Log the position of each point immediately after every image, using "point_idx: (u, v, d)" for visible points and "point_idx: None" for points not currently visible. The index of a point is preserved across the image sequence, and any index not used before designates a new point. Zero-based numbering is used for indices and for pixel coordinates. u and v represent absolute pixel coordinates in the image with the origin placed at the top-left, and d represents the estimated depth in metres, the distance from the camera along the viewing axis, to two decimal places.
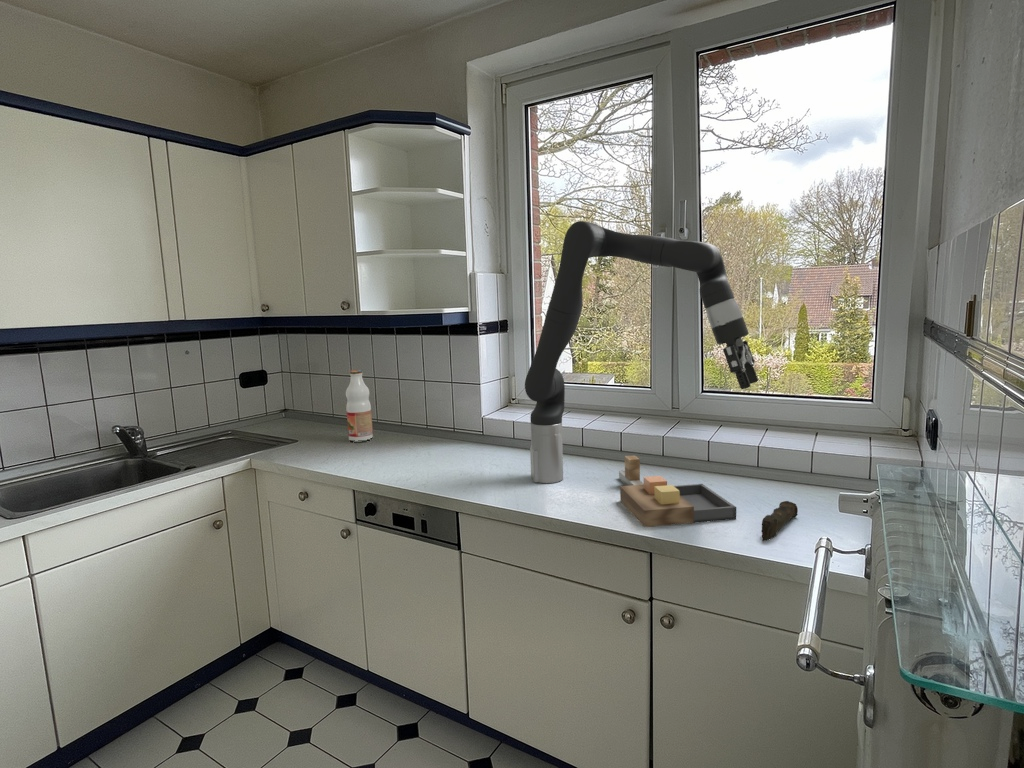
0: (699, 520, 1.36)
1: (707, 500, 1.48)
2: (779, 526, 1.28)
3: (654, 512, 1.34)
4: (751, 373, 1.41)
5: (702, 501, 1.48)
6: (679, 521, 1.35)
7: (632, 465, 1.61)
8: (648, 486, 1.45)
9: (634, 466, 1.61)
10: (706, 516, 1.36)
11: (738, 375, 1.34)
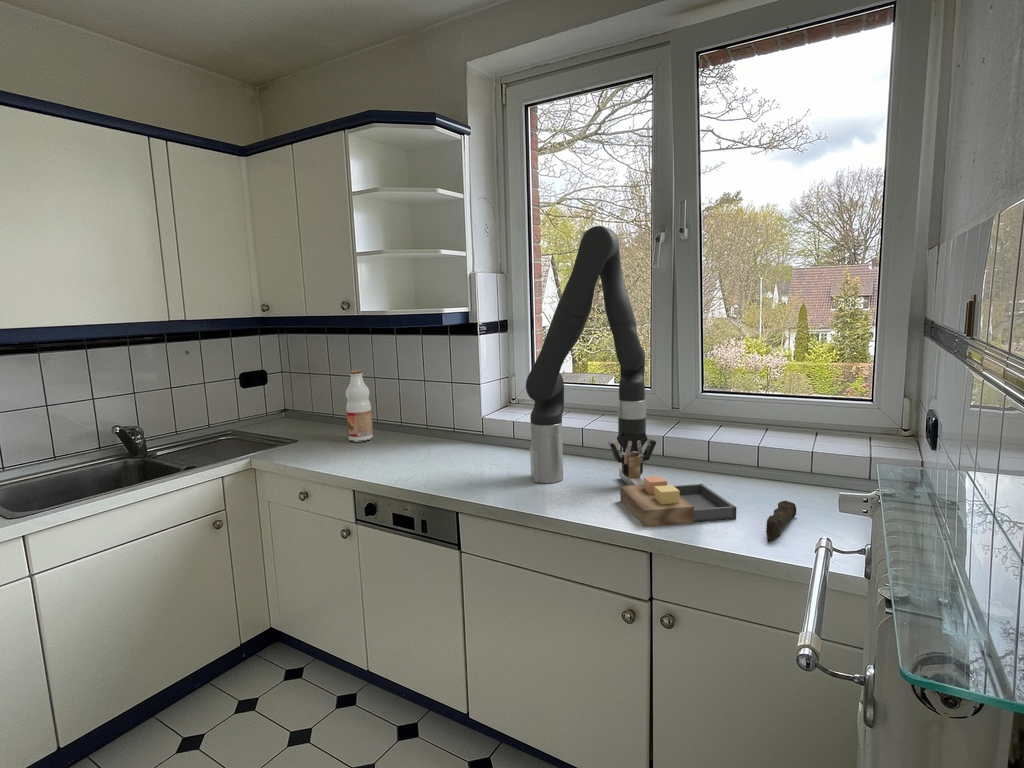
0: (699, 520, 1.36)
1: (707, 500, 1.48)
2: (782, 526, 1.28)
3: (654, 512, 1.34)
4: None
5: (702, 501, 1.48)
6: (679, 521, 1.35)
7: (633, 463, 1.60)
8: (648, 486, 1.45)
9: (635, 464, 1.60)
10: (706, 516, 1.36)
11: (622, 464, 1.63)
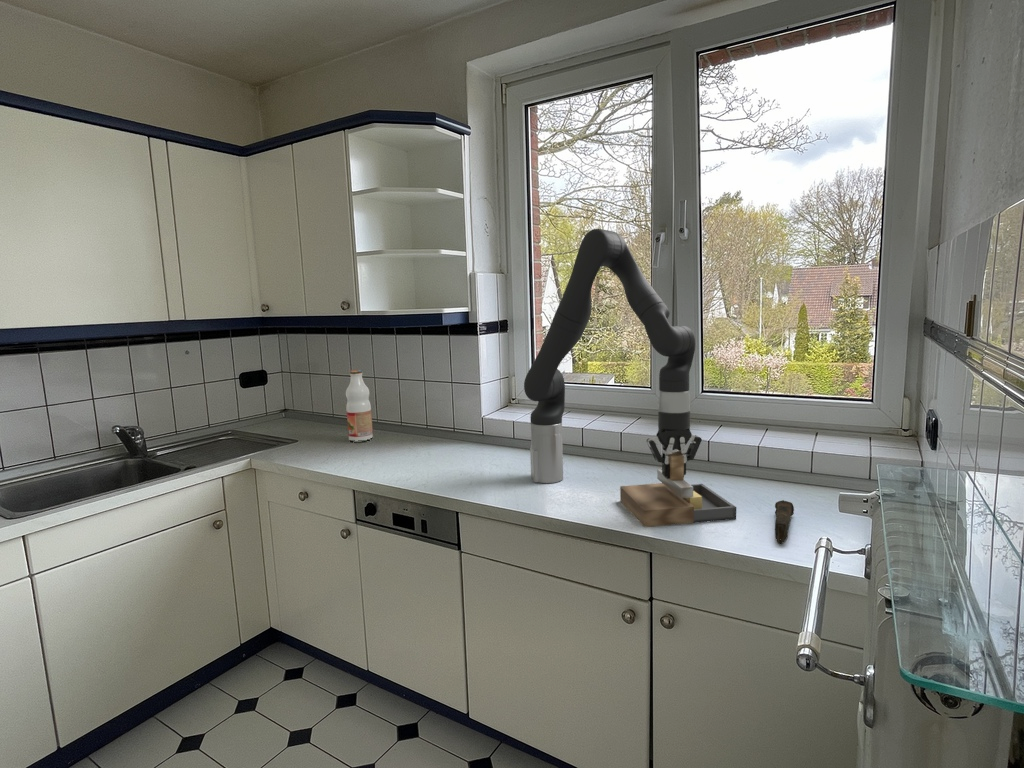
0: (699, 520, 1.36)
1: (707, 500, 1.48)
2: (788, 527, 1.27)
3: (654, 512, 1.34)
4: None
5: (702, 501, 1.48)
6: (679, 521, 1.35)
7: (675, 462, 1.40)
8: None
9: (678, 464, 1.40)
10: (706, 516, 1.36)
11: (662, 464, 1.43)
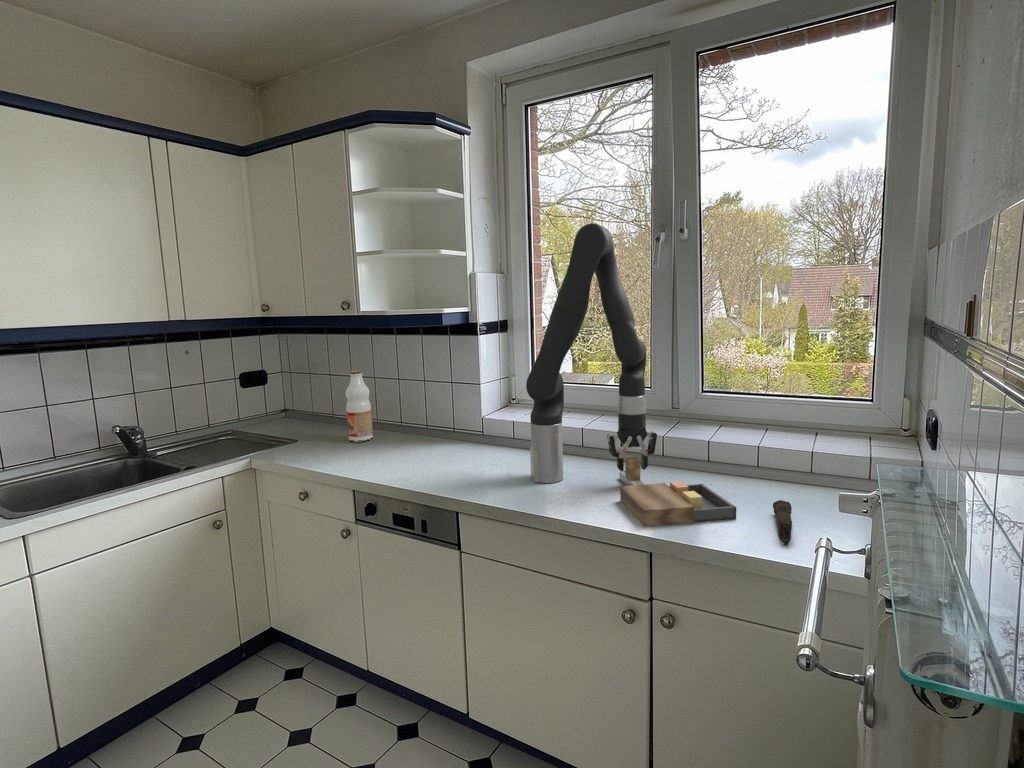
0: (699, 520, 1.36)
1: (707, 500, 1.48)
2: None
3: (654, 512, 1.34)
4: (642, 460, 1.63)
5: (702, 501, 1.48)
6: (679, 521, 1.35)
7: (633, 465, 1.60)
8: (681, 486, 1.46)
9: (635, 466, 1.60)
10: (706, 516, 1.36)
11: (617, 458, 1.62)
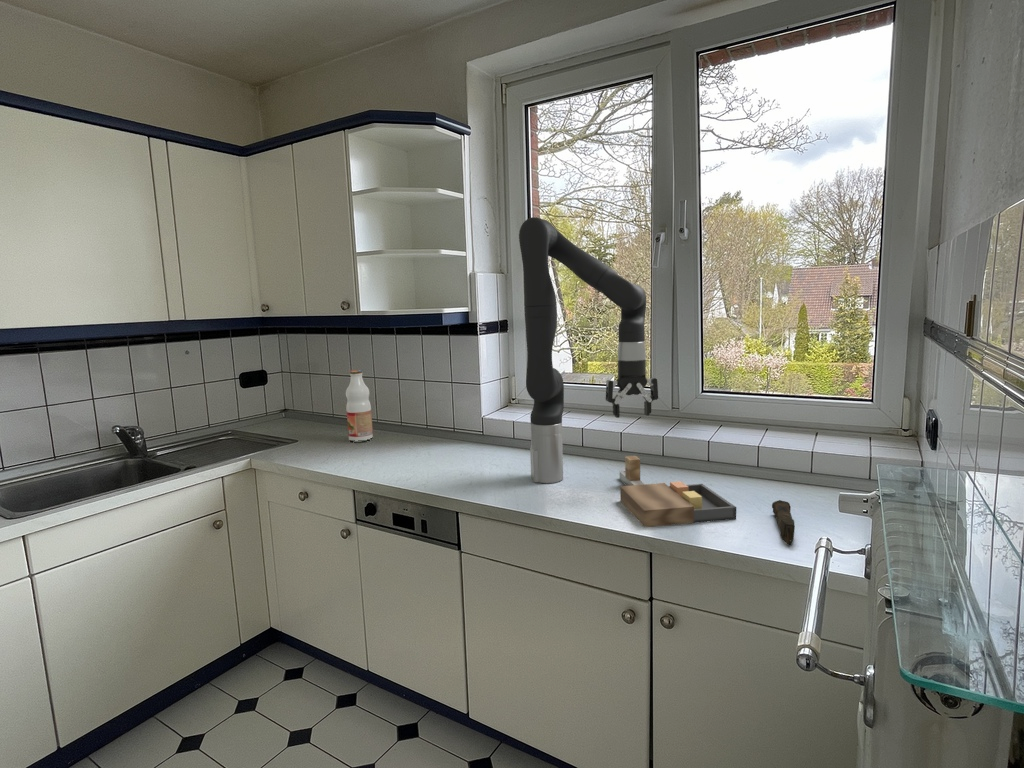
0: (699, 520, 1.36)
1: (707, 500, 1.48)
2: None
3: (654, 512, 1.34)
4: (645, 407, 1.61)
5: (702, 501, 1.48)
6: (679, 521, 1.35)
7: (633, 465, 1.60)
8: (681, 486, 1.46)
9: (635, 466, 1.60)
10: (706, 516, 1.36)
11: (613, 405, 1.60)
